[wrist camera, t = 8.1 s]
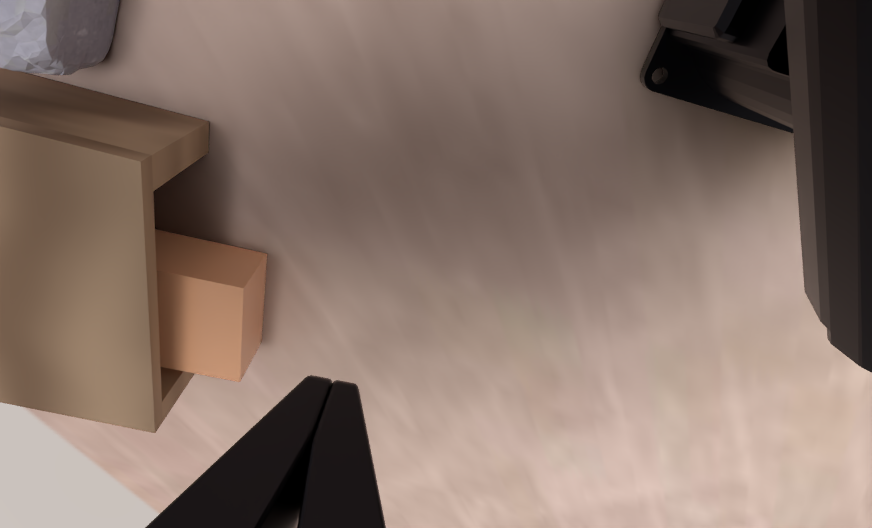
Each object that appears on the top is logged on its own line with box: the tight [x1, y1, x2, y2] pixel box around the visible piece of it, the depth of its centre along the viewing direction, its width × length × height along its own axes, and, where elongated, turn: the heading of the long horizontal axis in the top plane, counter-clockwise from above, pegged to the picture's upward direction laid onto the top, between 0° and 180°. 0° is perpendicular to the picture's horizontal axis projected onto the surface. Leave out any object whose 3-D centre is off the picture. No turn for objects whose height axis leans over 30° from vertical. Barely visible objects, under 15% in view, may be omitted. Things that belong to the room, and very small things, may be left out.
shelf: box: [0, 68, 209, 433], centre depth 19 cm, size 8×12×4 cm, turn 165°
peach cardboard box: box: [155, 229, 267, 382], centre depth 21 cm, size 8×5×3 cm, turn 77°
